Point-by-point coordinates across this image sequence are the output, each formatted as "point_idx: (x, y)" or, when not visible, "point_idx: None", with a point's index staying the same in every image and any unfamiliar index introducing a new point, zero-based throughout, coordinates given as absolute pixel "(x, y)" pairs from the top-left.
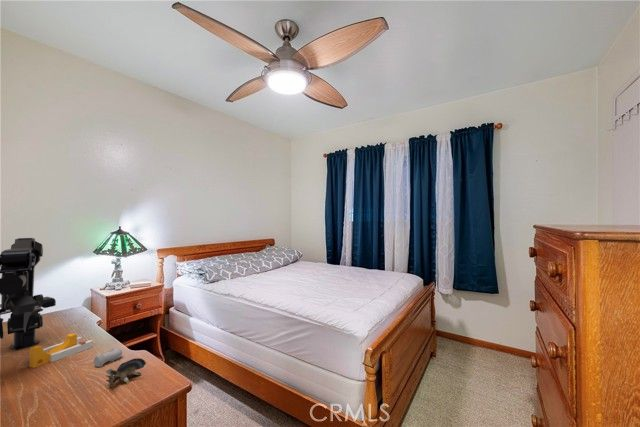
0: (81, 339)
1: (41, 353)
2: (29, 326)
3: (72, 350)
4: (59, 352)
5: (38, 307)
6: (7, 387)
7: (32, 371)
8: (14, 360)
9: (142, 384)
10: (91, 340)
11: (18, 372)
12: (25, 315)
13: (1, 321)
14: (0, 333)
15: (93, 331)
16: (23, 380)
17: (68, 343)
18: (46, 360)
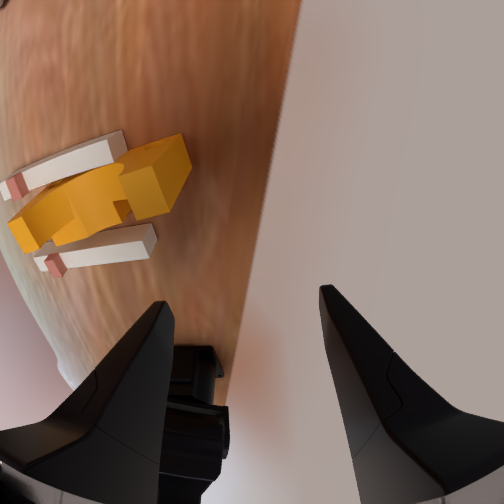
0: (38, 252)
1: (135, 160)
2: (127, 332)
3: (50, 158)
4: (82, 152)
5: (15, 489)
6: (293, 8)
7: (192, 91)
8: (225, 278)
9: None
10: (1, 192)
11: (233, 135)
12: (144, 463)
13: (431, 450)
14: (356, 319)
15: (39, 309)
16: (236, 20)
17: (45, 196)
18: (134, 149)
